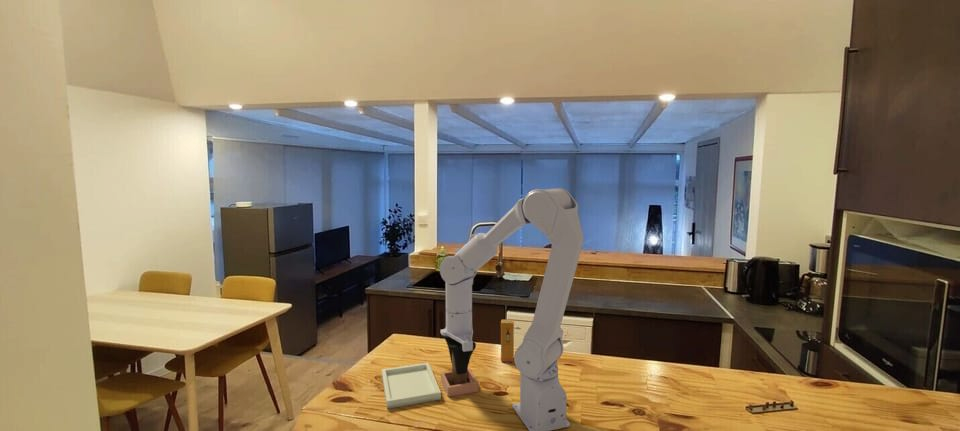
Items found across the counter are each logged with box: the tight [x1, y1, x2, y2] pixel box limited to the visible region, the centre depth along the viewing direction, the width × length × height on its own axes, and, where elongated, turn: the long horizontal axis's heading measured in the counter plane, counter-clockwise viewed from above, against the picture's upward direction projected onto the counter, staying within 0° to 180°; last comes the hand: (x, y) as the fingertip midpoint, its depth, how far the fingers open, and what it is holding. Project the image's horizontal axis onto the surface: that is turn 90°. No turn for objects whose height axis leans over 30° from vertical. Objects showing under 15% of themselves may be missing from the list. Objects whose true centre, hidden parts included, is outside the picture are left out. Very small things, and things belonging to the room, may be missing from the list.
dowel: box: [451, 354, 468, 386], centre depth 89 cm, size 3×3×9 cm
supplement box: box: [500, 319, 515, 363], centre depth 102 cm, size 3×3×10 cm
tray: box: [381, 362, 442, 410], centre depth 89 cm, size 14×11×2 cm
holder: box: [440, 367, 480, 398], centre depth 89 cm, size 7×7×2 cm
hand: (459, 369), depth 89 cm, fingers closed on dowel, 3 cm apart
